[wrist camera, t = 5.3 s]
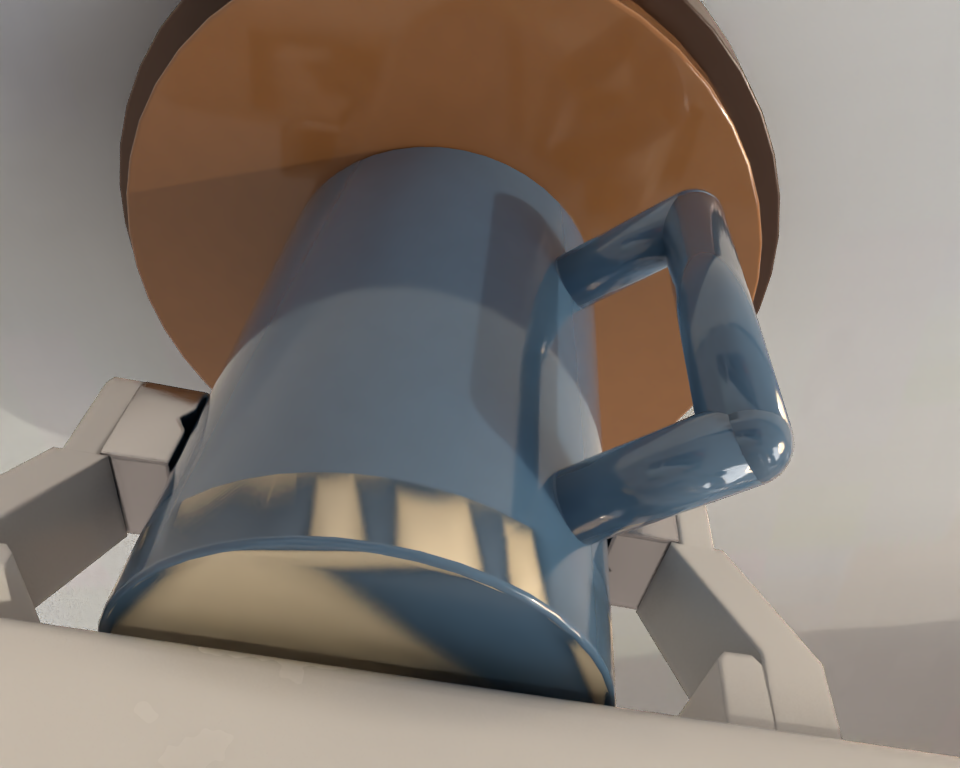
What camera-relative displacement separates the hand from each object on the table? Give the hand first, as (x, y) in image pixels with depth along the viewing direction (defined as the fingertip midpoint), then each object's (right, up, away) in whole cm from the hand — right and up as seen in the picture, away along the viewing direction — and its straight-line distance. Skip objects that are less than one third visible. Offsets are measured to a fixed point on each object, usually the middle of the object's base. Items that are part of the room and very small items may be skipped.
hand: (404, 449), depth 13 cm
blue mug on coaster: (0, +3, +4) cm, 5 cm away
